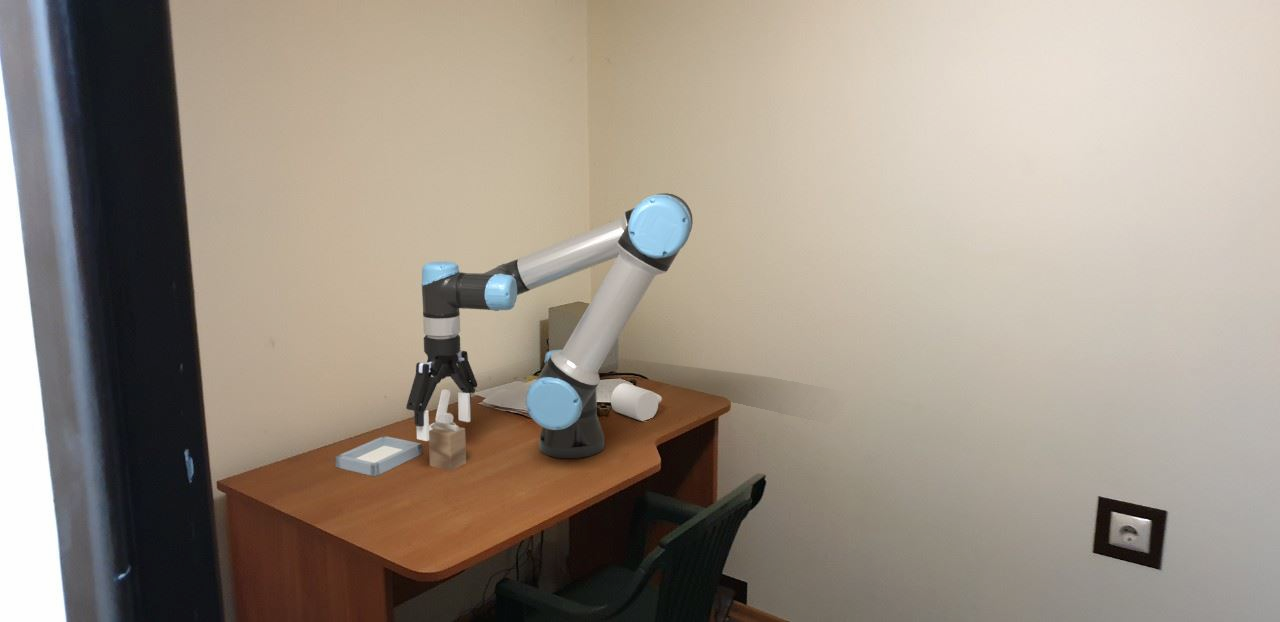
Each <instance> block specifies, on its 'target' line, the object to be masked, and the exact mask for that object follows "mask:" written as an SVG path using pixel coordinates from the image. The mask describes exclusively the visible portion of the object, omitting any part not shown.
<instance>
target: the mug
mask: <svg viewBox="0 0 1280 622" xmlns="http://www.w3.org/2000/svg"><path fill="white" fill-rule="evenodd" d="M662 401H663V398H662V396H661V395H660V394H658V393H655V392H654V391H651V390H648V389H647V388H646V389H645V388H643V387H639V386H637V385H632V384H631V383H626V382H624V383H620V384H618V385H617V386H616V387H615V388H614V389H613V391H612V394H611V396H610V404H611V407H612V410H613V411H614V412H616V413H619V414H620V415H624V416H627V417H629V418H632V419H635V420H638V421H640V422H645V421H644V420H647V419H650V418H652V419H653V418H654V417H655V415H656V413H657V411H658V408H659V403H661V402H662ZM650 420H651V419H650Z"/></svg>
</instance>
